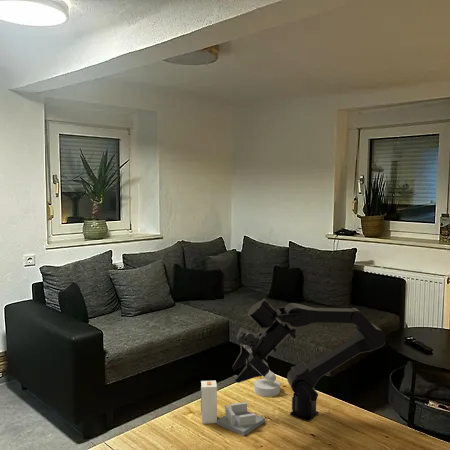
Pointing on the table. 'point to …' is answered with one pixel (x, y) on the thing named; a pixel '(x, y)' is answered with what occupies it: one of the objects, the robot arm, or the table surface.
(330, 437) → the table surface
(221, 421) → the plate
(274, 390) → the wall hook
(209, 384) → the white block orange patch
